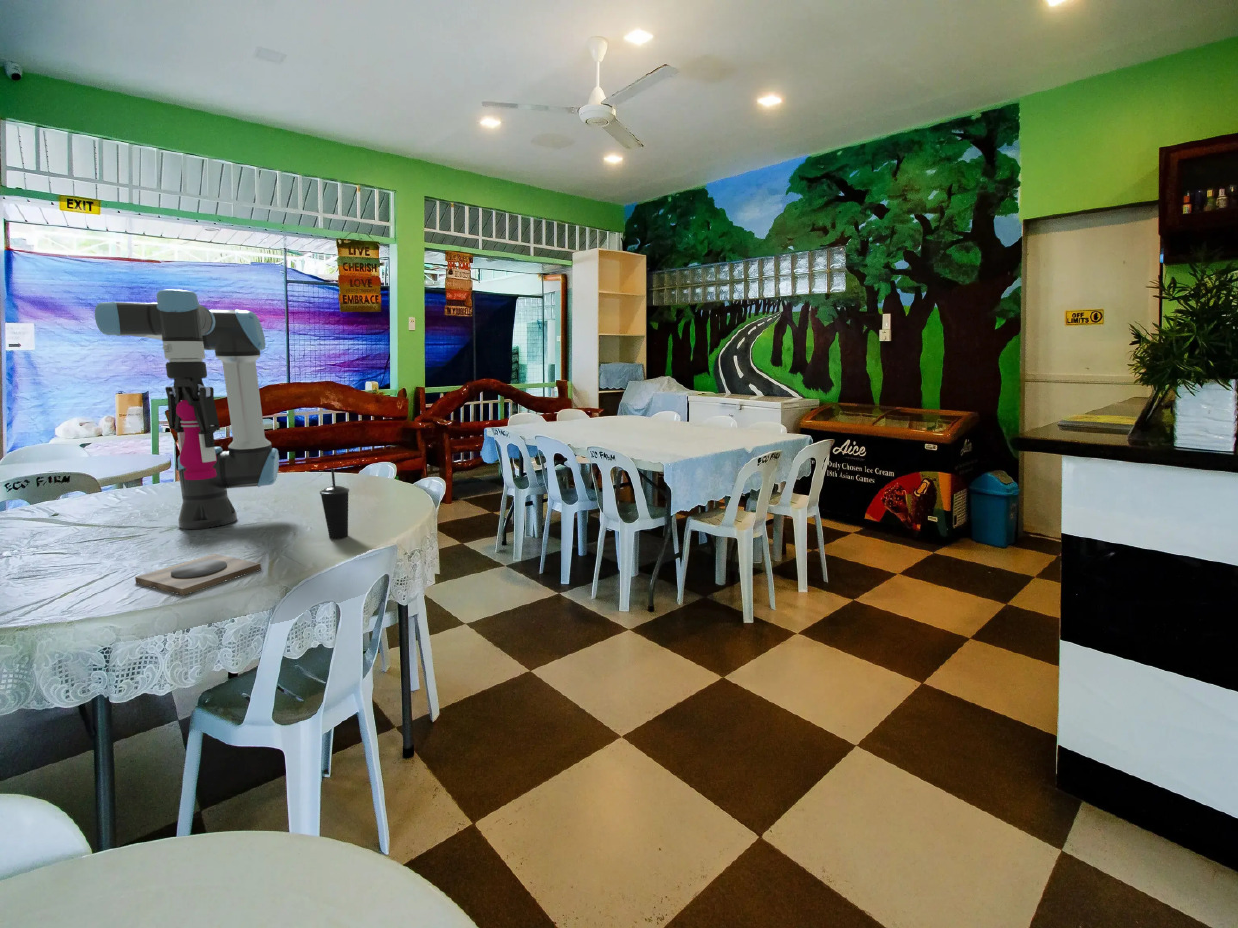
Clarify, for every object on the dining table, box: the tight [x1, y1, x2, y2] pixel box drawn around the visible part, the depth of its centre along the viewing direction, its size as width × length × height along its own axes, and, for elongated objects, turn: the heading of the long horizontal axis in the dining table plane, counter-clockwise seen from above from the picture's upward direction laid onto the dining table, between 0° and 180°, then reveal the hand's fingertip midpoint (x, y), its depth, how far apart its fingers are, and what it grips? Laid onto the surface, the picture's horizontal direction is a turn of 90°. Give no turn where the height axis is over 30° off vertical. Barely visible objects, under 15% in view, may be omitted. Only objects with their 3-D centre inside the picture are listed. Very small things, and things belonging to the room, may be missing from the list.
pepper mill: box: [176, 400, 217, 480], centre depth 142 cm, size 7×7×20 cm
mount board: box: [134, 553, 262, 596], centre depth 145 cm, size 18×18×2 cm
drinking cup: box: [319, 467, 350, 540], centre depth 174 cm, size 8×8×20 cm
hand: (198, 460), depth 143 cm, fingers closed on pepper mill, 7 cm apart
